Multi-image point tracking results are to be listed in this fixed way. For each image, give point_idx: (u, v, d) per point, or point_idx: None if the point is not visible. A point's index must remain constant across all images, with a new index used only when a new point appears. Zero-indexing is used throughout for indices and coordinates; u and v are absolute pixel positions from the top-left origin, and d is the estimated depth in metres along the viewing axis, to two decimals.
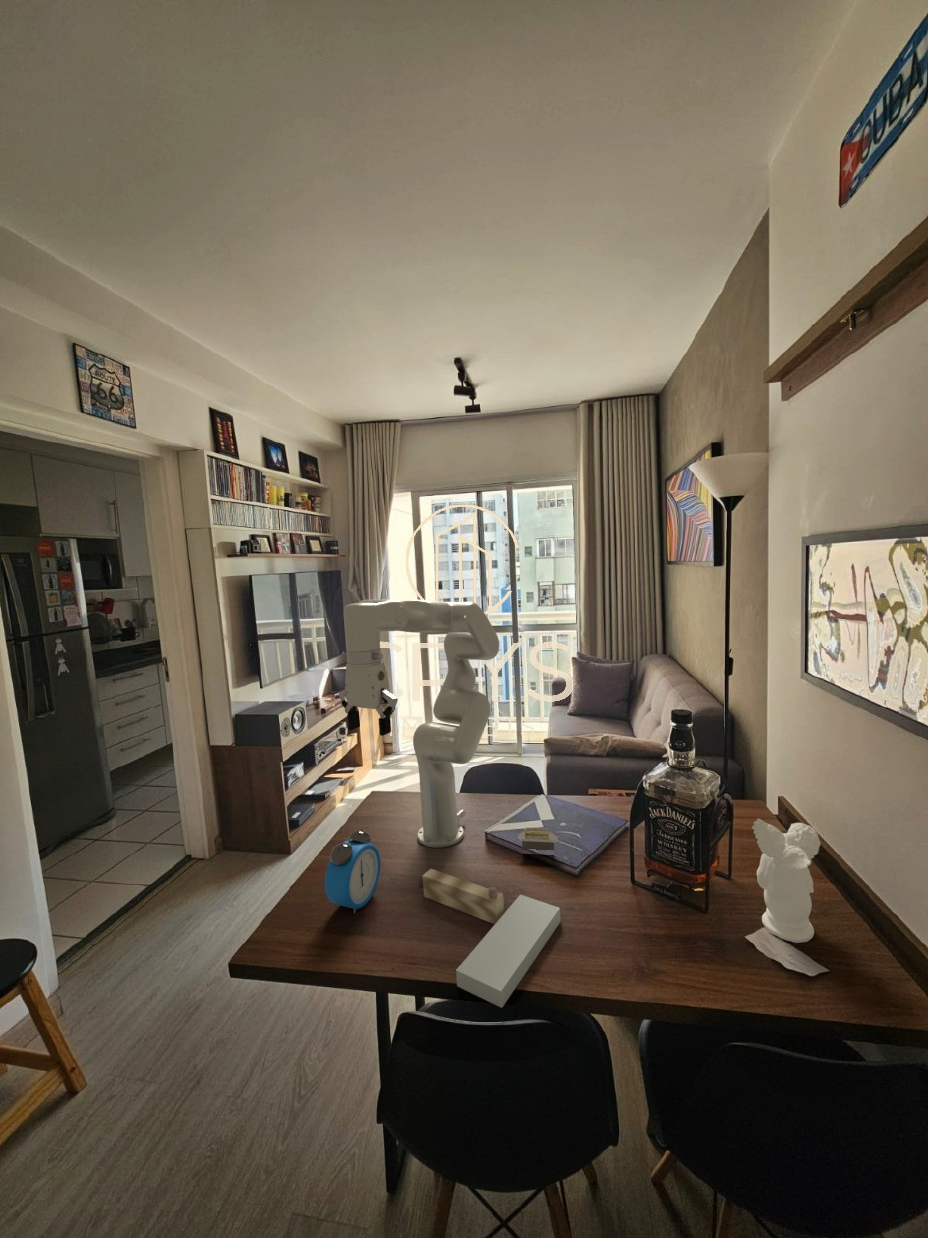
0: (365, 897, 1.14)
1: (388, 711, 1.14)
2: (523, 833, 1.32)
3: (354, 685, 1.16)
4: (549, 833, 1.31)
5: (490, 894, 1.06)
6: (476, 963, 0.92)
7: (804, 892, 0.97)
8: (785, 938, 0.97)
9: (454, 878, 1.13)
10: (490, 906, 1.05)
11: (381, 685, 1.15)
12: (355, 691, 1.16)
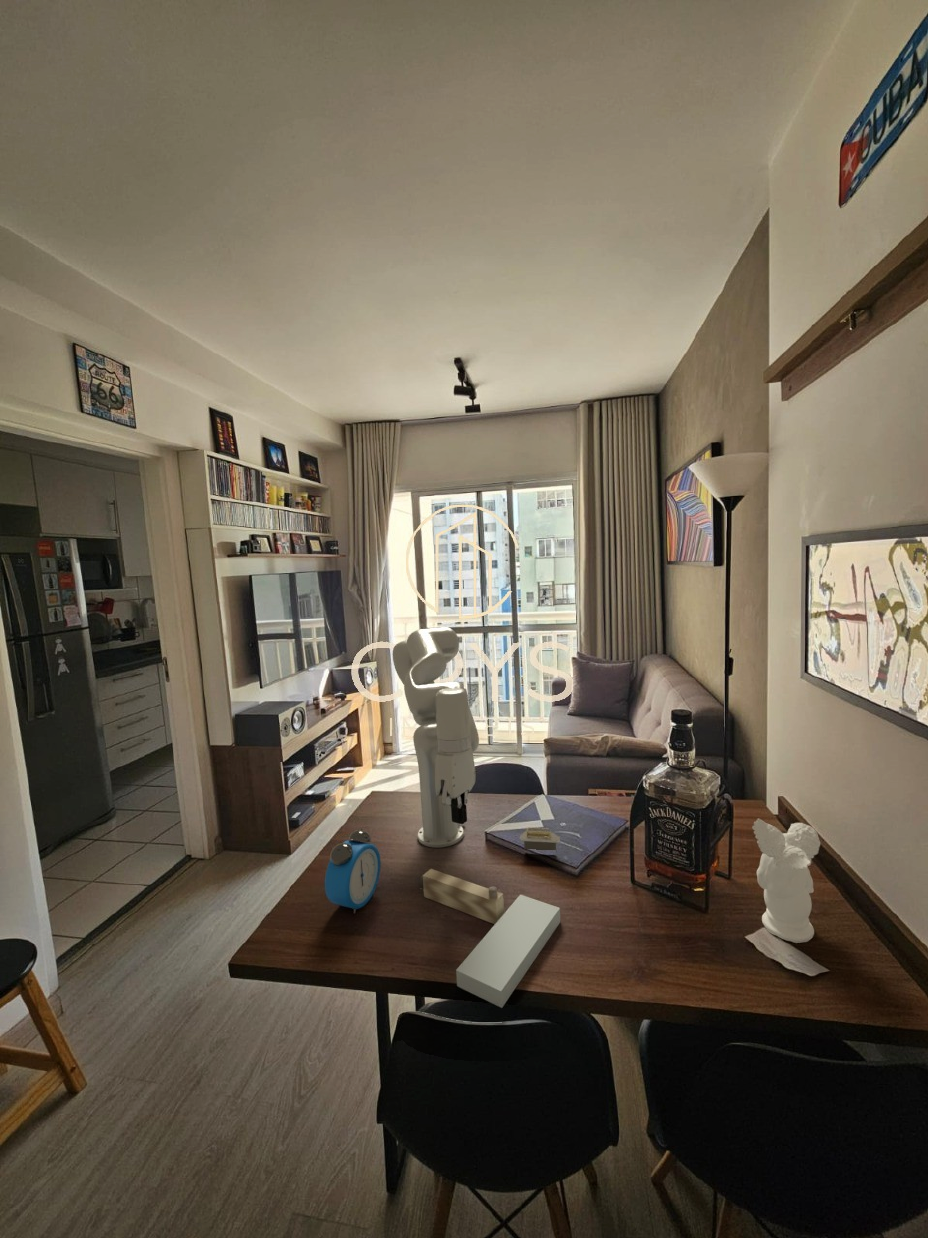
0: (365, 897, 1.14)
1: None
2: (525, 833, 1.32)
3: (462, 772, 1.15)
4: (551, 833, 1.31)
5: (490, 894, 1.06)
6: (476, 963, 0.92)
7: (804, 892, 0.97)
8: (785, 938, 0.97)
9: (454, 878, 1.13)
10: (490, 906, 1.05)
11: None
12: (462, 778, 1.16)
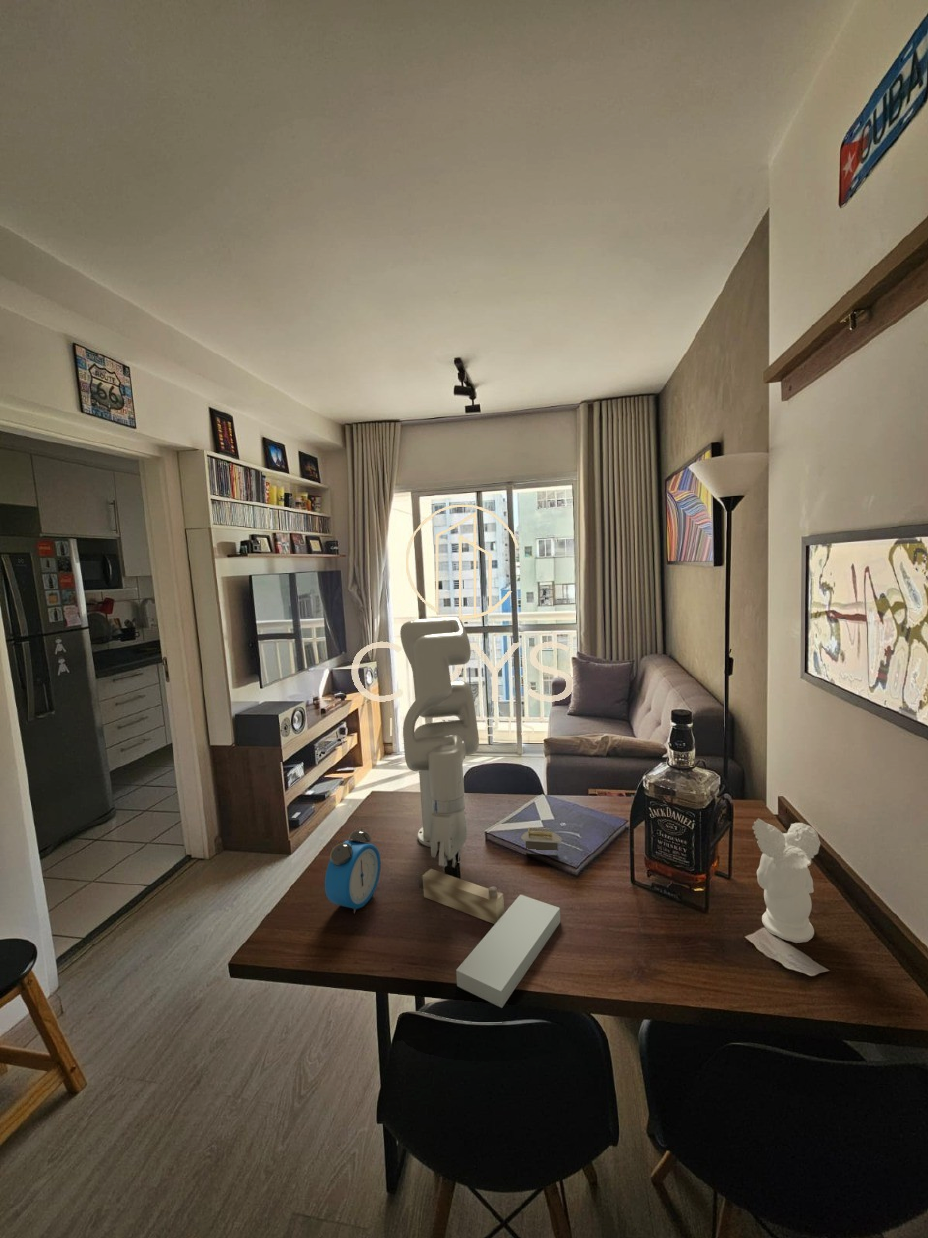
0: (365, 897, 1.14)
1: None
2: (526, 833, 1.32)
3: (457, 832, 1.14)
4: (553, 833, 1.31)
5: (490, 894, 1.06)
6: (476, 963, 0.92)
7: (804, 892, 0.97)
8: (785, 938, 0.97)
9: (454, 878, 1.13)
10: (490, 906, 1.05)
11: None
12: (458, 837, 1.14)
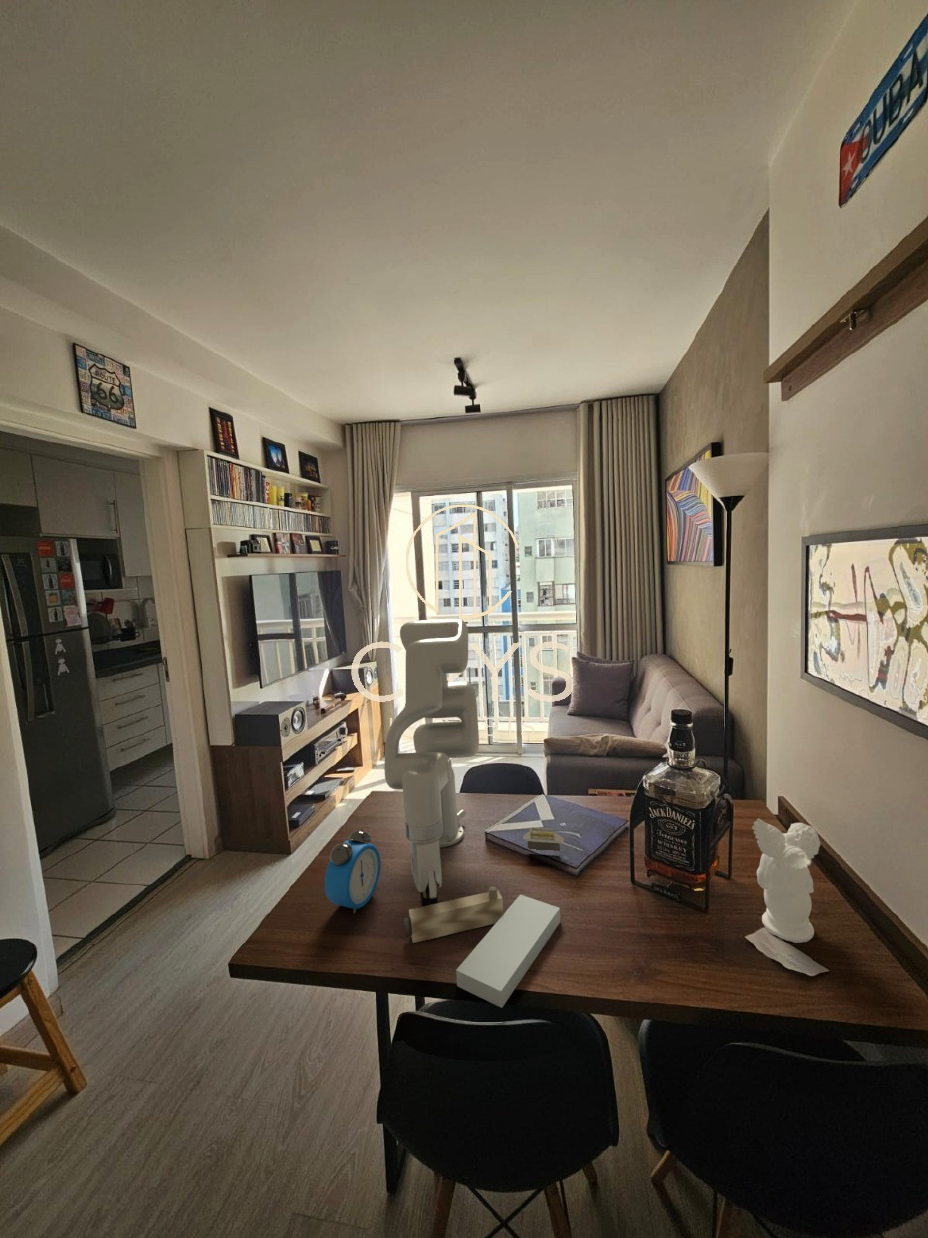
0: (365, 897, 1.14)
1: None
2: (529, 833, 1.32)
3: None
4: (555, 834, 1.31)
5: (493, 894, 1.06)
6: (476, 963, 0.92)
7: (804, 892, 0.97)
8: (785, 938, 0.97)
9: (442, 903, 1.05)
10: (496, 906, 1.05)
11: None
12: None
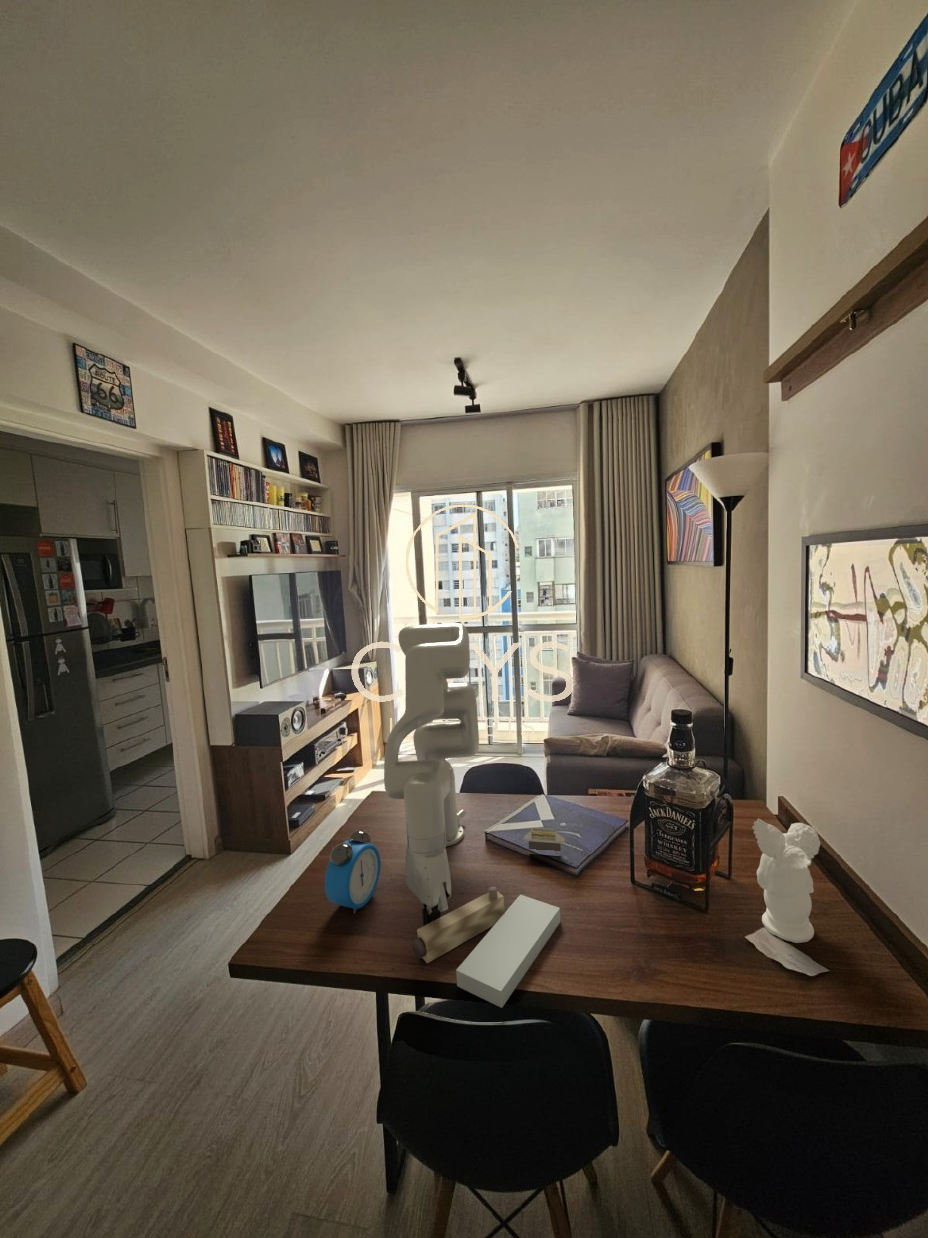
0: (365, 897, 1.14)
1: None
2: (530, 833, 1.32)
3: None
4: (556, 834, 1.31)
5: (495, 894, 1.06)
6: (476, 963, 0.92)
7: (804, 892, 0.97)
8: (785, 938, 0.97)
9: (448, 915, 1.01)
10: (498, 905, 1.06)
11: None
12: None
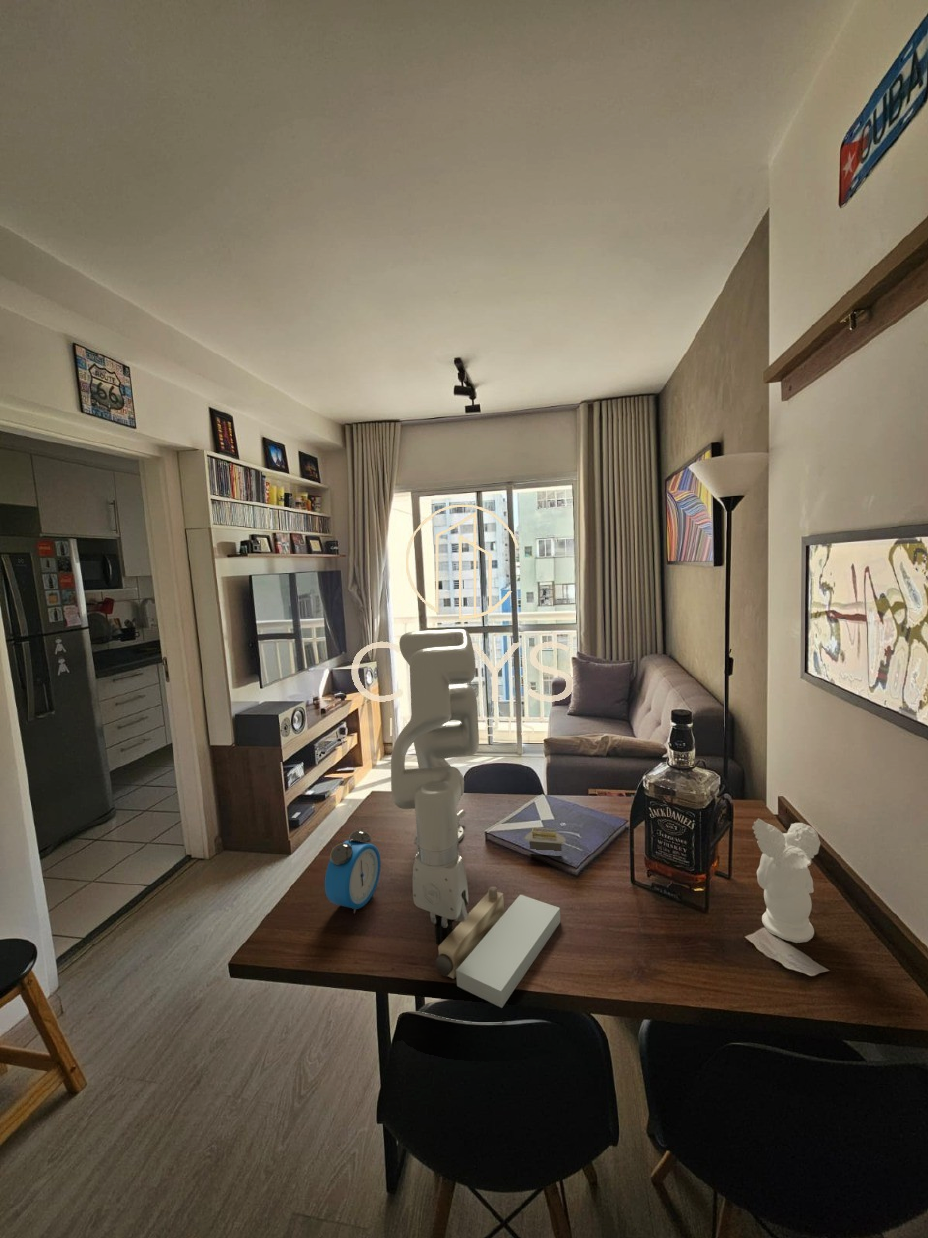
0: (365, 897, 1.14)
1: None
2: (531, 833, 1.32)
3: None
4: (557, 834, 1.31)
5: (496, 893, 1.06)
6: (476, 963, 0.92)
7: (804, 892, 0.97)
8: (785, 938, 0.97)
9: (461, 924, 0.99)
10: (500, 903, 1.06)
11: None
12: None
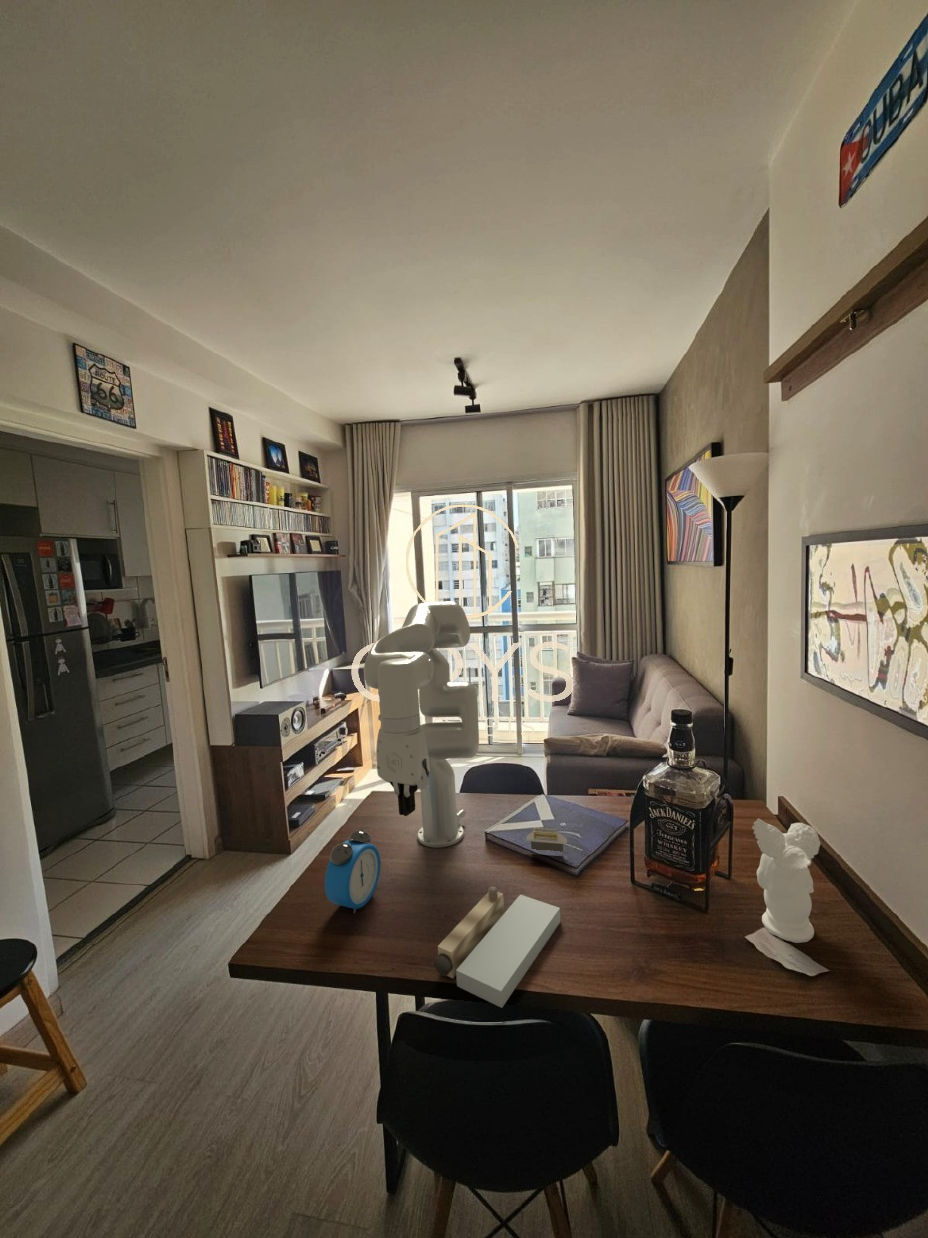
0: (365, 897, 1.14)
1: None
2: (532, 833, 1.32)
3: None
4: (558, 834, 1.30)
5: (496, 893, 1.06)
6: (476, 963, 0.92)
7: (804, 892, 0.97)
8: (785, 938, 0.97)
9: (461, 924, 0.99)
10: (500, 903, 1.06)
11: None
12: None
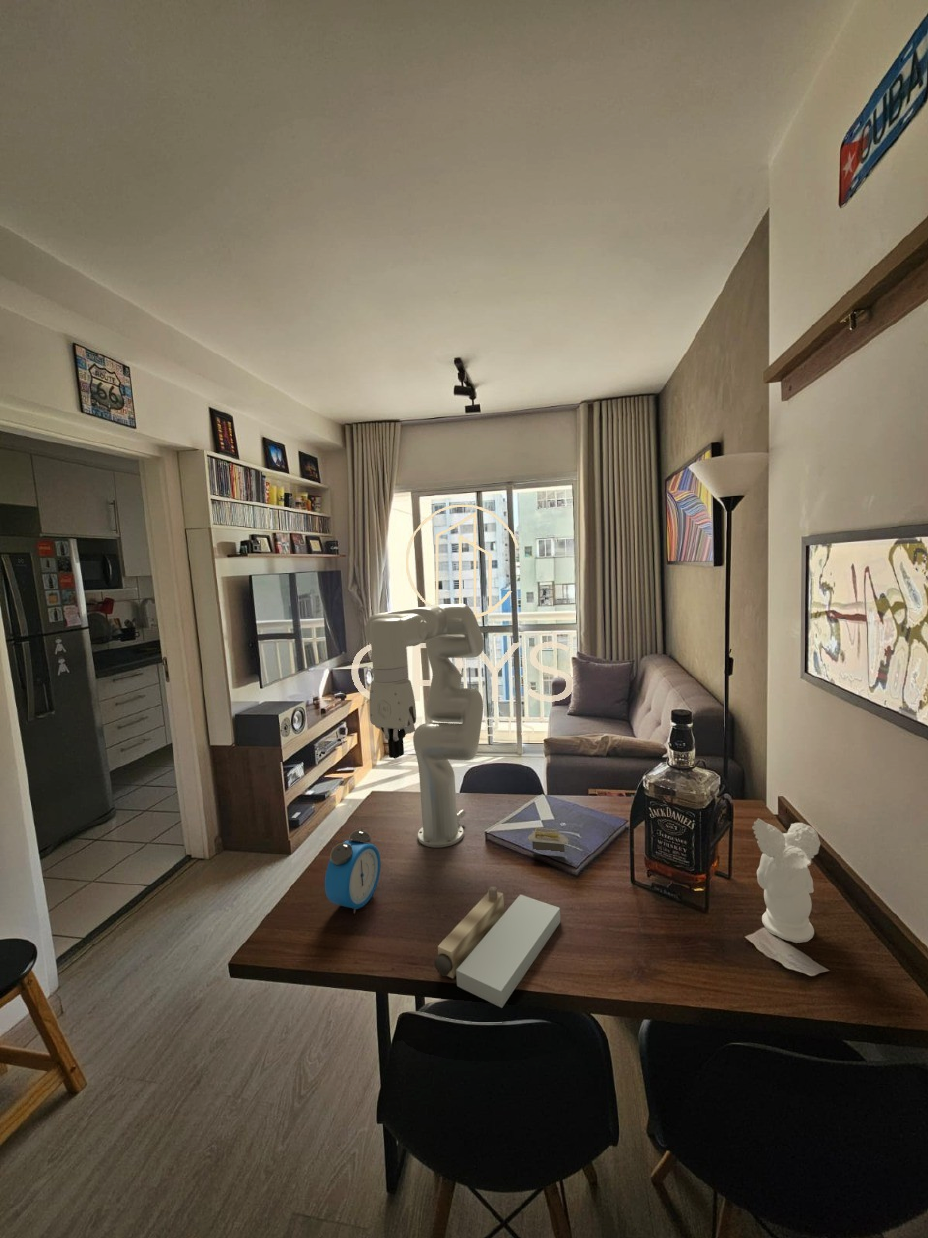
0: (365, 897, 1.14)
1: None
2: (533, 833, 1.32)
3: None
4: (560, 834, 1.30)
5: (496, 893, 1.06)
6: (476, 963, 0.92)
7: (804, 892, 0.97)
8: (785, 938, 0.97)
9: (461, 924, 0.99)
10: (500, 903, 1.06)
11: None
12: None
